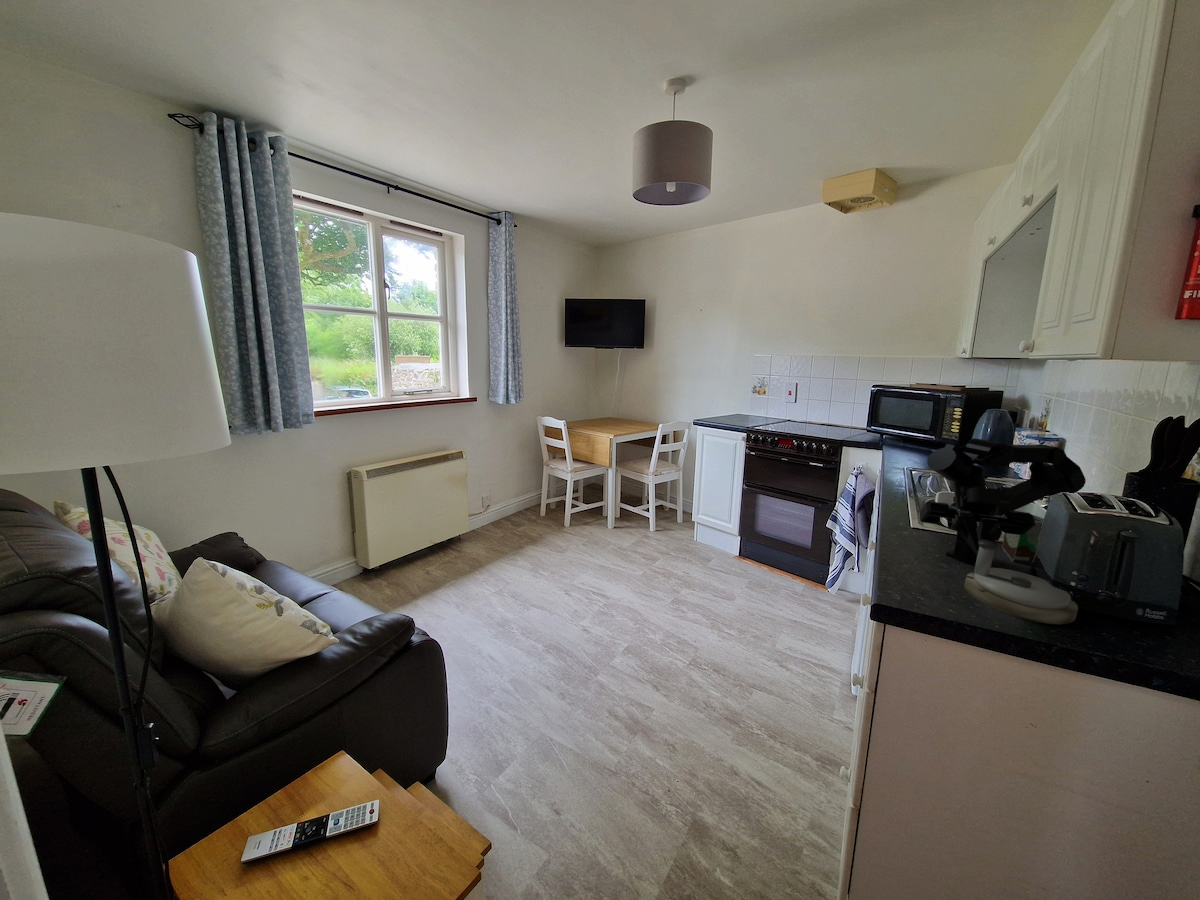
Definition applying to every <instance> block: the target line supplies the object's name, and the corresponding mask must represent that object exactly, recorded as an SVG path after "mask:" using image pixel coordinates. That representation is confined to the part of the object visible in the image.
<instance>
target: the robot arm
mask: <svg viewBox="0 0 1200 900" xmlns="http://www.w3.org/2000/svg"><path fill="white" fill-rule="evenodd" d="M1012 463H1021V464H1022V463H1024V464H1025V463H1027V464H1029V463H1030V466H1029V467H1028V469H1029V471H1030V476H1029V478H1028V479H1026V480H1024V481H1022V482H1019V483H1017V484H1015V485H1012V486H1011V487H1007V486H999V487H997V488H991V487H987V483H986V480H987V479H988V478H989V476H988V475H987V474H986V473H985V471H984V469H983V468H982V467H980V466H983V467H988V468H993V469H999V468H1003V467H1005V468H1006V467H1008V466H1010V464H1012ZM927 465H928V467H929V468H930V469H931V470H932V471H933V472H935V473H937V474H939V475H940V477H942V478H944V479H945V480H947V481H950V482H952V484H953V490H954V496H953V497H952V500H953V502H952V503H951V504H950V505H949V504H948V503H947V502H946V503H945V502H937V501H927V502H926V503H925V504H924V506H923V507H922V508H921V510H920V511H919V520H920V522H921V523H923V524H933V525H936V524H938V523H939V522H941V518H943V519H946V522H947V528H948V529H949V530H954V531H956V536H955V541H954V546H953V548H952V549H953V550H950V551H946V552H945V555H946V556H948V557H951V558H953V559H956V560H959V561H961V562H964V563H967V564H969V565H973V566H975V564H976V560H977V555H978V551H979V545H978V542H979V540H981V539H982V540H989V541H993V542H995V543H996V541H999V540H1000V538H1001V536H1002V535H1003V534H1005V533H1008V534H1016V535H1023V534H1025V533H1026V532H1027V531H1028V530H1030V529H1031V528H1032V527H1033V526H1035V525H1036V522H1035V518H1034V516H1033V515H1034V514H1032V513H1030V512H1026V511H1019V510H1018V509H1020V508H1023V507H1025V506H1028V505H1029V504H1031V503H1035V502H1036V501H1039V500H1041V499H1044V498H1045V497H1053V496H1052V495H1054V494H1057V493H1060V492H1069V493H1073V494H1076V493H1078V492H1079V491H1081V490H1082V489H1083V488H1084V487H1085V485H1086V481H1087V480H1086V477H1085V475H1084V472H1083V470H1082V469H1081V467H1080V465H1078V464H1077V463H1076V462H1074V461H1073V460H1072V459H1071V458H1070V457H1069V456H1067V454H1066V452H1065V450H1064V449H1063V448H1061V447H1058V446H1053V445H1049V444H1041V443H1039V444H1006V443H1002V442H997V441H992V440H988V439H981V438H971V439H969V441H968V442H967V443H965V444H963V445H961V446H957V445H956V444H951V443H947V444H946V445H945V446H944V447H942V448H938V449H936V450H935V451H933V452H932V453H930V454H929V455H928V458H927ZM978 465H980V466H978ZM1018 511H1019V512H1018Z"/></svg>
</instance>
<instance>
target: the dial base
mask: <svg viewBox="0 0 1200 900" xmlns="http://www.w3.org/2000/svg"><path fill="white" fill-rule="evenodd" d="M974 575H975V573H974V571H973V572H969V573H967V575H966V578H965V582H964V585H963V586H964V589H965V592H967V594H969V595H970V596H971V597H972V598H974V599H975V600H976V601H978V602H980V603H981V604H983V605H986V606H987V607H990V608H991V609H994V610H996V611H999V612H1000V613H1004V614H1006V615H1007V614H1008V615H1010V616H1012V617H1016V618H1019V619H1022V620H1027V621H1031V622H1036V623H1040V624H1041V623H1042V624H1050V625H1066V624H1071V623H1073V622H1075V621H1076V617H1077V614H1078V610H1079V607H1078V604H1077V603H1076V602H1075V601H1074V600H1073V599H1072V600H1073V601H1072V600H1070V604H1069V606H1068V607H1066V608H1064V609H1044V608H1038V607H1033V606H1028V605H1024V604H1020V603H1017V602H1014V601H1011V600H1008V599H1005V598H1002V597H1000V596H997V595H995V594H993V593H991V592H989V591H987V590H985V589H984V588H982V587H981V586H979V585H978V584H977V583H976V582H975V580H974Z"/></svg>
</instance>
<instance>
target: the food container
mask: <svg viewBox="0 0 1200 900" xmlns="http://www.w3.org/2000/svg"><path fill="white" fill-rule="evenodd" d="M1017 511H1018V512H1020V511H1019V510H1017ZM1032 515H1033V516H1034V518H1035V522H1036V525H1035V526H1033V527H1032V528H1031V529H1030V530H1028V531H1027V532H1026V533H1025V534H1023V535H1016V534H1008V533H1004V535H1003V541H1002V545H1001V546H1002V547H1001V549H1002V548H1003V549H1002V550H1003V551H1004V552H1005V554H1006V553H1007V554H1006V555H1007V557H1008V558H1009V557H1010V558H1009V559H1010V560H1011V561H1013V562H1012V563H1016V562H1018V563H1017V564H1025V563H1028V564H1032V563H1031V562H1032V561H1033V559H1034V555H1035V551H1036V547H1037V543H1038V537H1039V534H1040V531H1041V527H1042V523H1043V520H1044V518H1043V517H1040V516H1038V515H1034V514H1032Z"/></svg>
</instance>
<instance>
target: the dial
mask: <svg viewBox="0 0 1200 900" xmlns="http://www.w3.org/2000/svg"><path fill="white" fill-rule="evenodd" d="M978 545H979V551H978V555H977V560H976V564H975V565H974V570H973V572H974V573H975V575H974V580H975V582H976V583H977V584H978V585H979V586H981V587H982V588H984V589H985V590H987V591H989V592H991V593H993V594H995V595H997V596H1000V597H1002V598H1005V599H1008V600H1011V601H1014V602H1017V603H1020V604H1024V605H1028V606H1033V607H1038V608H1044V609H1064V608H1066V607H1068V606H1069V604H1070V600H1071V599H1072V597H1071V595H1070V594H1069V592H1067V591H1066V590H1065V589H1064V590H1065V591H1064V590H1061V589H1058V588H1055V587H1053V586H1051V585H1050V584H1049V583H1048V582H1049V581H1048V580H1045V579H1043V578H1040V577H1038V576H1035V575H1032V574H1028V573H1026V572H1022V571H1017V570H1012V569H1006V568H1001V567H992V563H993V559H994V554H995V550H997V549H998V546H999V544H998V543H997V542H996V541H995V542H993V541H989V540H982V539H981V540H979V542H978ZM1047 581H1048V582H1047Z"/></svg>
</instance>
